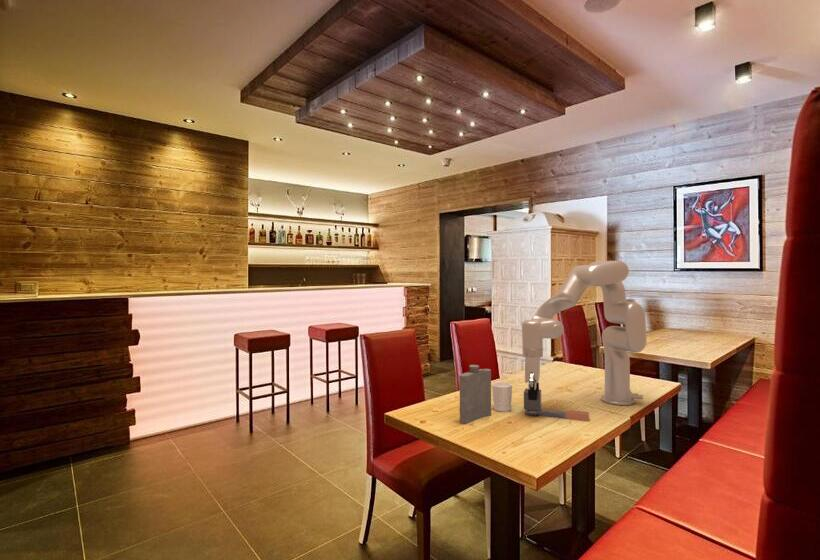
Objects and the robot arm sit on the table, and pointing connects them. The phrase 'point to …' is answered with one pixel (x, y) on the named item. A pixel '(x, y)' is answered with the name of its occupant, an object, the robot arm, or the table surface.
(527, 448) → the table surface
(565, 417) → the ratchet
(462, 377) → the hip flask
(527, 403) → the two-tone cube
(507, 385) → the peach tapered cup
